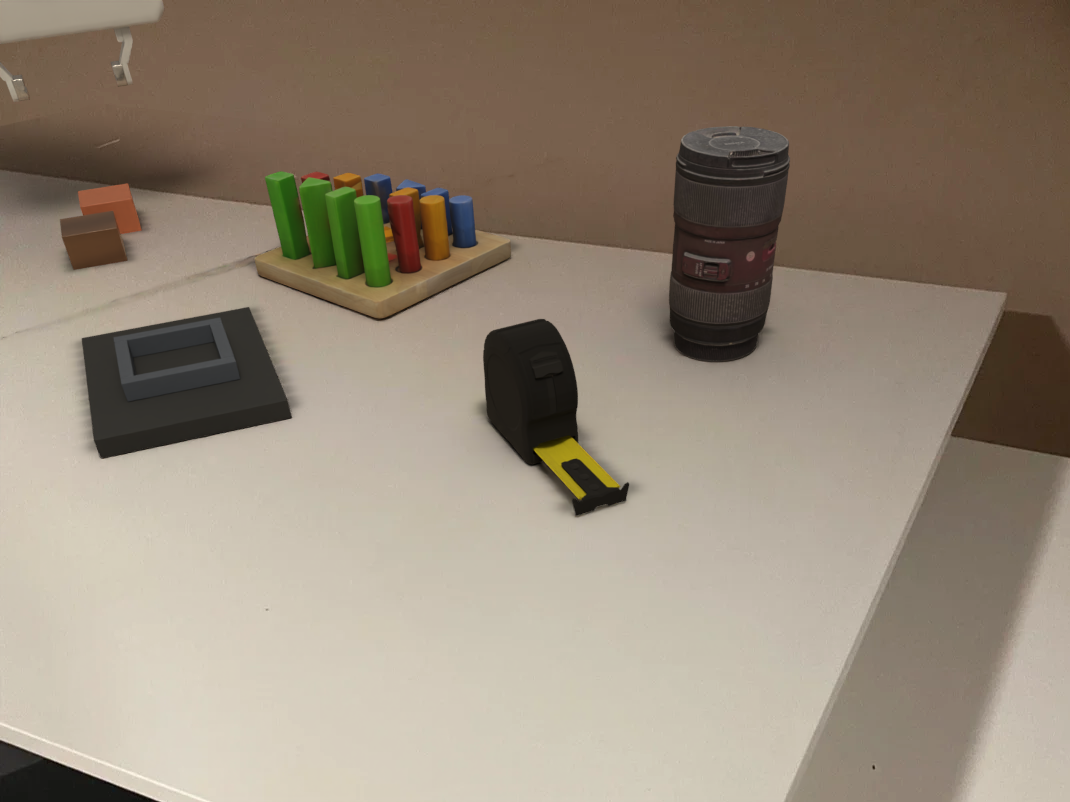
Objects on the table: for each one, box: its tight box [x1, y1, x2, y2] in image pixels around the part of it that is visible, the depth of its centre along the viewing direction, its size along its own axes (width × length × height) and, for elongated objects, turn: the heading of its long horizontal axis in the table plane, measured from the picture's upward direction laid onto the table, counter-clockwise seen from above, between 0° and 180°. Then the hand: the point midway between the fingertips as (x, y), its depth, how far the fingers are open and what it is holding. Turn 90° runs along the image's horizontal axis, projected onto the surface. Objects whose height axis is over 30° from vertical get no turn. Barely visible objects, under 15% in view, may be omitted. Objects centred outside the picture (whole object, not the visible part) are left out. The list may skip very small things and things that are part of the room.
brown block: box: [59, 211, 128, 271], centre depth 97 cm, size 5×5×4 cm
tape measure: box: [482, 318, 630, 517], centre depth 68 cm, size 15×4×8 cm, turn 25°
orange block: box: [77, 183, 143, 235], centre depth 103 cm, size 5×5×4 cm
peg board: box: [253, 170, 512, 319], centre depth 93 cm, size 18×17×9 cm
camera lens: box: [668, 125, 791, 363], centre depth 77 cm, size 8×8×15 cm
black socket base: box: [81, 306, 292, 459], centre depth 80 cm, size 18×14×3 cm
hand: (74, 92), depth 95 cm, fingers open, 8 cm apart
